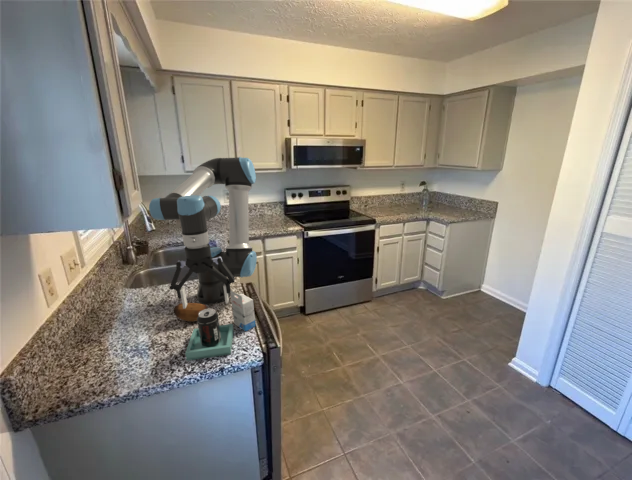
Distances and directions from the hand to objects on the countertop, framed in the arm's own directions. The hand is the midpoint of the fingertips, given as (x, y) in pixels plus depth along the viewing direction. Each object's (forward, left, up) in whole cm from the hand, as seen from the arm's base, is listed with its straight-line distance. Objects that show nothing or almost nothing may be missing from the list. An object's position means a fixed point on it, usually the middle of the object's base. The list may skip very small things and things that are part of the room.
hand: (206, 304), depth 99 cm
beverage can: (0, 0, -15) cm, 15 cm away
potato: (-19, -10, -16) cm, 27 cm away
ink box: (-10, +11, -16) cm, 22 cm away
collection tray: (0, 0, -16) cm, 16 cm away
